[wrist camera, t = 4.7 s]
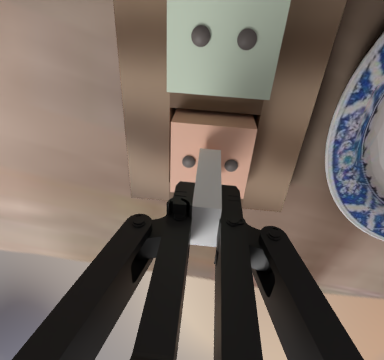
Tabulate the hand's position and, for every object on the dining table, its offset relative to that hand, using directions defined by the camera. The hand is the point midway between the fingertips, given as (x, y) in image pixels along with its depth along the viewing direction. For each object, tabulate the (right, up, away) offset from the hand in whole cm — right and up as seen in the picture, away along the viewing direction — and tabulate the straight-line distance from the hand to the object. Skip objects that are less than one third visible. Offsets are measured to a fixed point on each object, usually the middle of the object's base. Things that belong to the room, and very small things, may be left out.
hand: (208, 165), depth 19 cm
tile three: (+1, +3, +4) cm, 5 cm away
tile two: (+1, +9, -2) cm, 9 cm away
